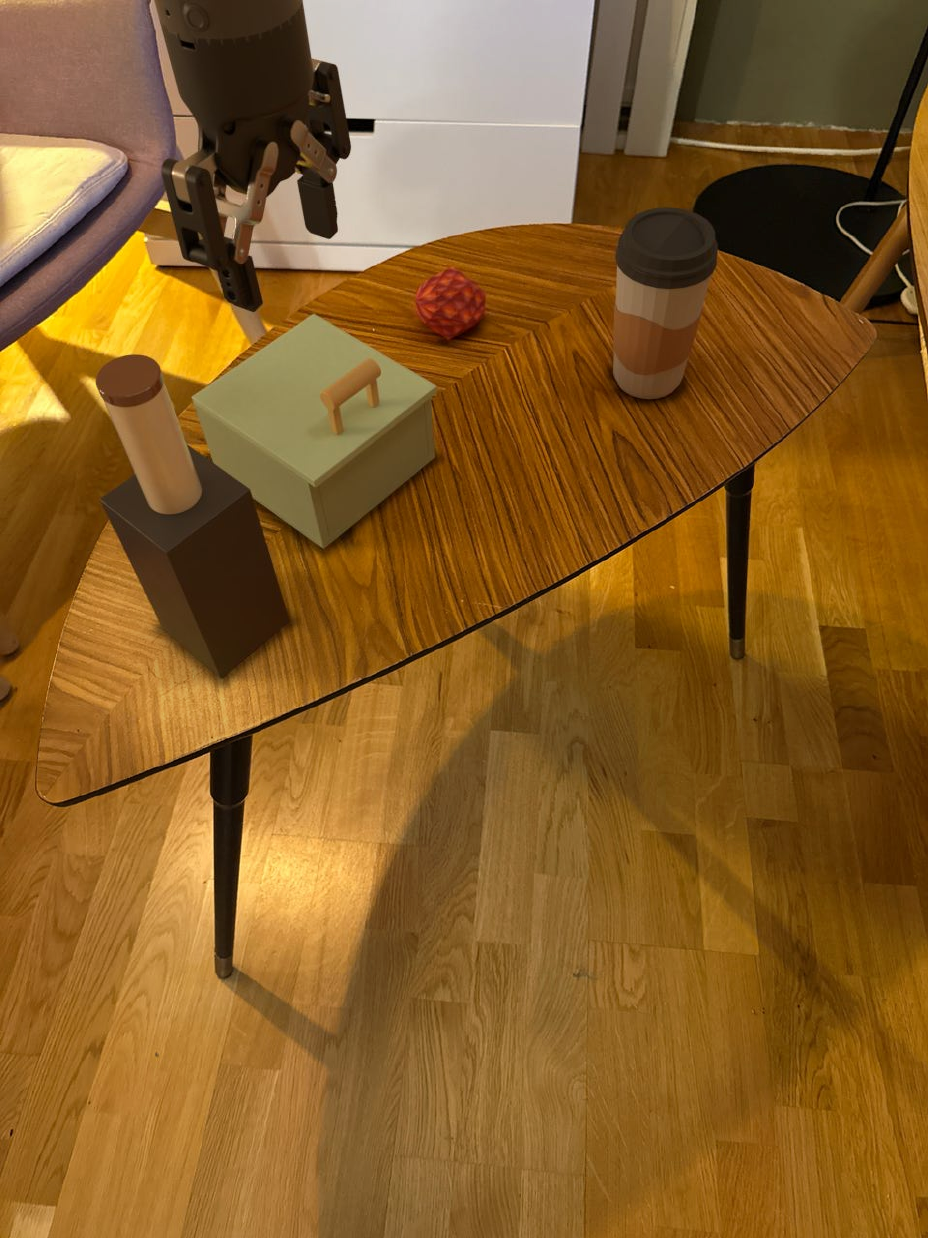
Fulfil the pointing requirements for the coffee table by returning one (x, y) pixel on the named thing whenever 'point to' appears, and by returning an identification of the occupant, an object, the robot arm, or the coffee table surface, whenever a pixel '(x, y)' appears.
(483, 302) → the red faceted ball
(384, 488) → the chest
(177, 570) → the block
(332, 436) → the chest lid
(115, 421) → the canister
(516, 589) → the coffee table surface
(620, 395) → the coffee table surface
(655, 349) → the coffee cup
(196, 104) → the robot arm
